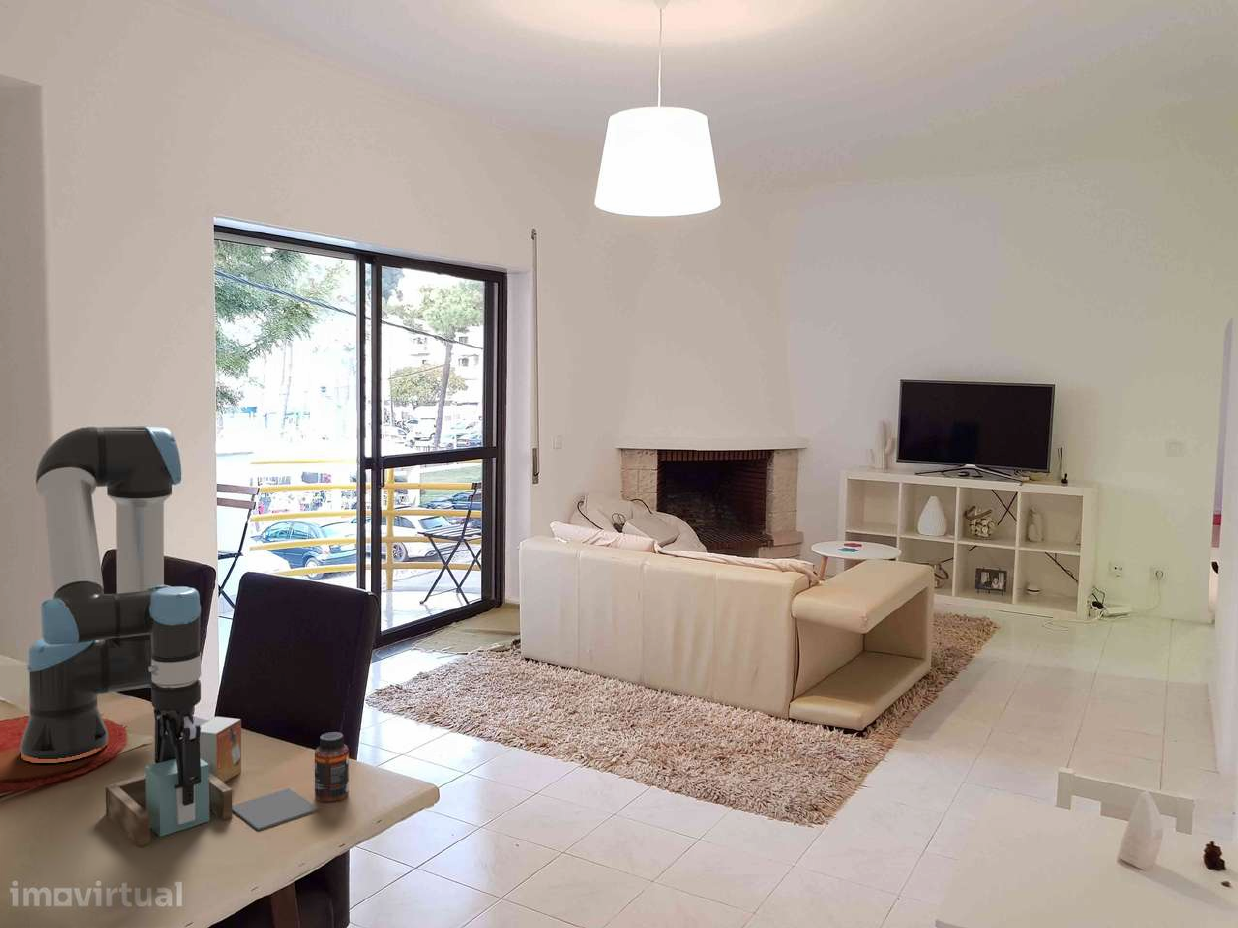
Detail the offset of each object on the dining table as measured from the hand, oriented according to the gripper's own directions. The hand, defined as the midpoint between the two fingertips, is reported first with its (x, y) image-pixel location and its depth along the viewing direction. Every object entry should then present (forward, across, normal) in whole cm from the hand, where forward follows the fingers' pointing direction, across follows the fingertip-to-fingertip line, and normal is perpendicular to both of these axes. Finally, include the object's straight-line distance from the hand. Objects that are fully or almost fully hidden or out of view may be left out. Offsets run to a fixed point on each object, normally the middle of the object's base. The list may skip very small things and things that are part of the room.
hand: (177, 814), depth 158 cm
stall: (+2, -4, 0) cm, 4 cm away
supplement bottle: (+2, +8, +24) cm, 25 cm away
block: (+1, 0, 0) cm, 1 cm away
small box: (+2, -13, +12) cm, 18 cm away
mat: (+2, +6, +14) cm, 15 cm away
